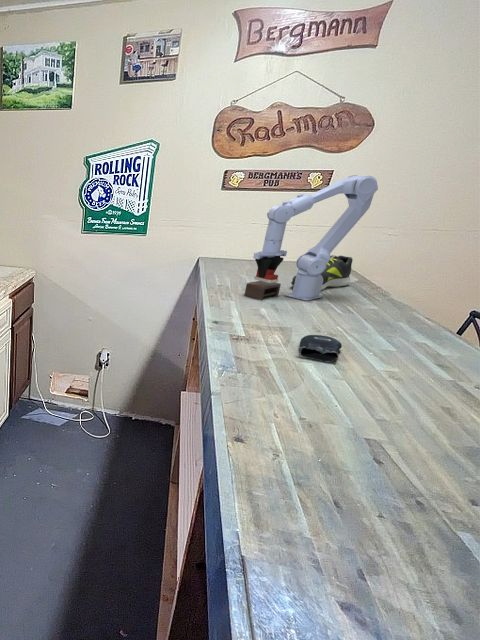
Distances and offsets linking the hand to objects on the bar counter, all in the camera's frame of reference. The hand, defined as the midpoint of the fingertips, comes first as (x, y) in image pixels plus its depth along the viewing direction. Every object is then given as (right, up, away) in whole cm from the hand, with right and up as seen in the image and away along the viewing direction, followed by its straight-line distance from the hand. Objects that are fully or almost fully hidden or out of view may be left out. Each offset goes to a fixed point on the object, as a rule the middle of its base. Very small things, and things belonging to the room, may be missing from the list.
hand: (265, 276), depth 172 cm
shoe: (0, -1, 0) cm, 1 cm away
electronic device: (-14, -29, -48) cm, 58 cm away
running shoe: (+31, -1, +16) cm, 35 cm away
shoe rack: (0, -7, +3) cm, 8 cm away
